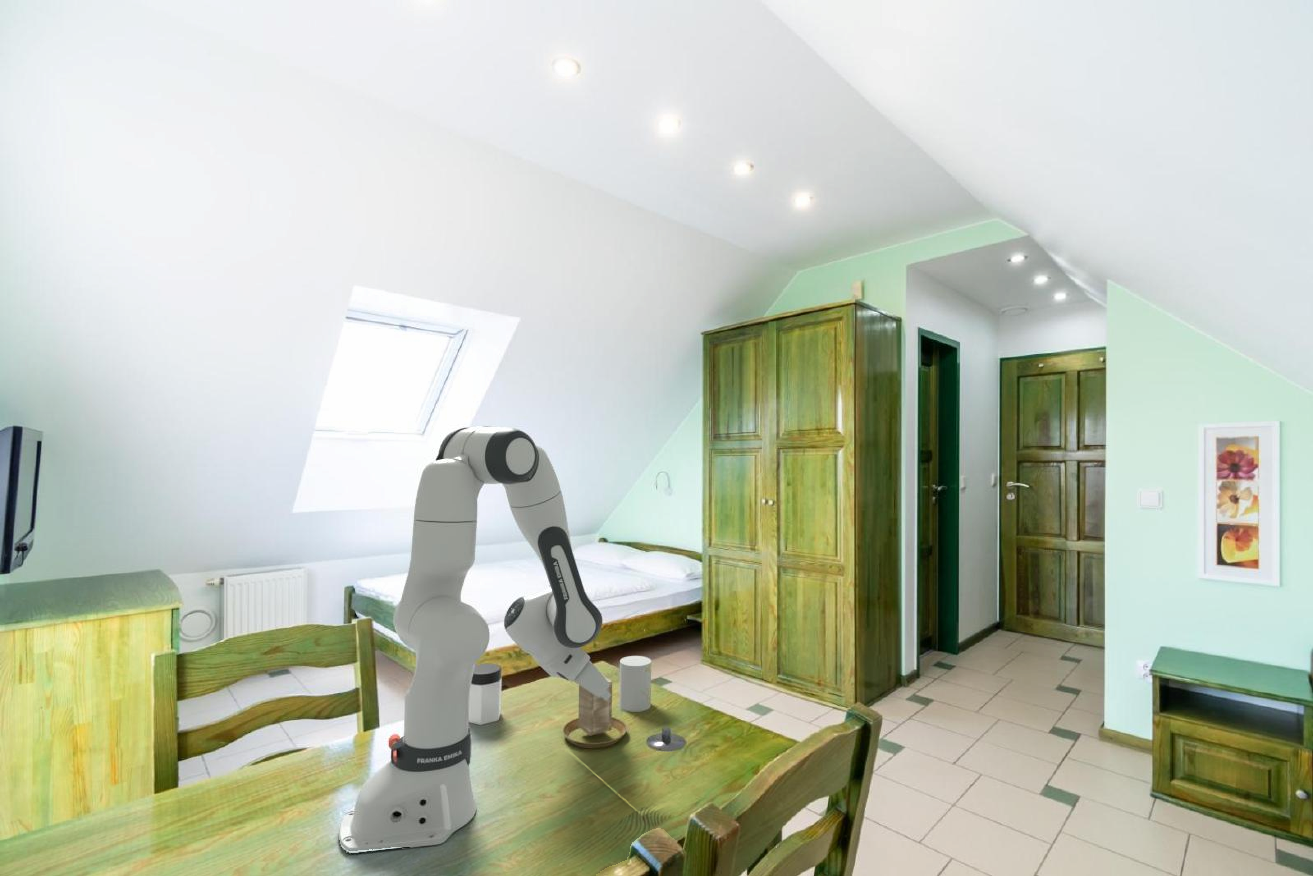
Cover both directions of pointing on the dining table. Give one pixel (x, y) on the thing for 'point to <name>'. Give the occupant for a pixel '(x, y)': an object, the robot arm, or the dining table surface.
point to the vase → (594, 712)
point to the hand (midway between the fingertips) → (597, 690)
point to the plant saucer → (574, 724)
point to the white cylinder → (635, 684)
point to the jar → (485, 694)
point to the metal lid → (666, 741)
